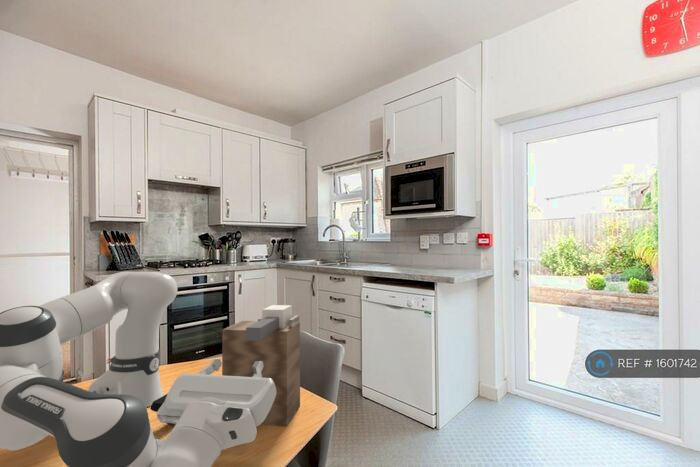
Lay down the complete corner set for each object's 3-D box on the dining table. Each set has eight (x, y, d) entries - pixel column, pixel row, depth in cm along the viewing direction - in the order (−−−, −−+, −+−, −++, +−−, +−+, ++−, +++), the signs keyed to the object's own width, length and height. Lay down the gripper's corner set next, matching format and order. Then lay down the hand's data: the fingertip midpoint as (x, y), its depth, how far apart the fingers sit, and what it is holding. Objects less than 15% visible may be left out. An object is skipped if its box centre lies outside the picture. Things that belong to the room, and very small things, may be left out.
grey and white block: (241, 340, 78) (241, 318, 78) (272, 322, 96) (272, 305, 97) (265, 341, 77) (265, 319, 77) (291, 322, 95) (291, 305, 96)
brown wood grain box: (221, 421, 87) (222, 322, 88) (241, 402, 98) (242, 313, 99) (287, 426, 84) (286, 323, 86) (300, 405, 95) (299, 315, 96)
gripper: (157, 432, 60) (197, 370, 73) (263, 441, 57) (286, 374, 69) (144, 410, 58) (189, 349, 70) (255, 418, 54) (281, 353, 66)
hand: (238, 361), depth 69 cm, fingers open, 8 cm apart
